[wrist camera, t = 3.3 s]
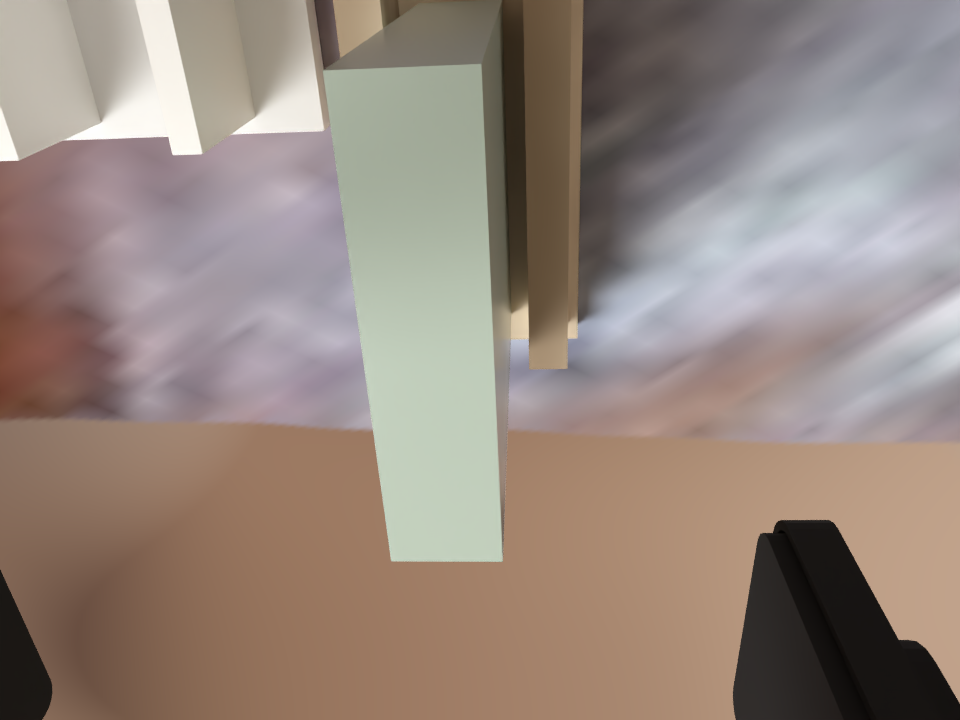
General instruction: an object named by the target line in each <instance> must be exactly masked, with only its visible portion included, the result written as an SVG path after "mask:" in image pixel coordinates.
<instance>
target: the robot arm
mask: <svg viewBox="0 0 960 720" xmlns="http://www.w3.org/2000/svg"><path fill="white" fill-rule="evenodd" d="M51 698H52V683H51V680H50V678H49V675H48V673H47V671H46V669H45V667H44V664H43V662H42V660H41V658H40V656H39V653H38V651H37V649H36V647H35V645H34V643H33V640H32V638H31V636H30V634H29V632H28V629H27V627H26V625H25V623H24V621H23V618H22V616H21V614H20V612H19V610H18V608H17V605H16V603H15V601H14V599H13V597H12V594H11V592H10V590H9V588H8V586H7V583H6V581H5V579H4V577H3V575H2V573H1V570H0V720H42V719H43V717H44V716H45V714H46V712H47V710H48V708H49V705H50V702H51ZM733 704H734V712H735V718H736V720H960V704H959V702H958V700H957V698H956V696H955V695H954V693H953V692H952V690H951V688H950V686H949V685H948V683H947V681H946V679H945V678H944V676H943V674H942V673H941V671H940V669H939V667H938V666H937V664H936V662H935V661H934V659H933V658H932V656H931V655H930V654H929V652H928V651H927V650H926V649H925V648H924V647H923V646H922V645H920V644H919V643H918V642H917V641H910V640H898V638H897V636H896V634H895V632H894V631H893V629H892V627H891V625H890V623H889V621H888V620H887V618H886V616H885V614H884V612H883V610H882V609H881V607H880V605H879V603H878V601H877V600H876V598H875V596H874V594H873V592H872V590H871V588H870V587H869V585H868V583H867V581H866V579H865V577H864V576H863V574H862V572H861V570H860V568H859V567H858V565H857V563H856V561H855V559H854V557H853V555H852V554H851V552H850V550H849V548H848V546H847V545H846V543H845V541H844V539H843V537H842V535H841V533H840V532H839V530H838V528H837V527H836V525H835V524H834V523H833V522H831V521H829V520H781V521H778V522H777V523H776V525H775V527H774V531H773V533H762V534H760V536H759V539H758V542H757V548H756V554H755V560H754V566H753V572H752V578H751V584H750V590H749V596H748V603H747V608H746V614H745V621H744V627H743V633H742V639H741V645H740V651H739V657H738V664H737V669H736V676H735V681H734V688H733Z"/></svg>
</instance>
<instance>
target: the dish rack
mask: <svg viewBox="0 0 960 720" xmlns="http://www.w3.org/2000/svg"><path fill="white" fill-rule="evenodd" d="M323 70H324V68H323V61H322V53H321V46H320V39H319V32H318V25H317V17H316V10H315V3H314V0H0V161H16V160H21V159H23V158H25V157H28V156H30V155H32V154H34V153H36V152H39V151H41V150H43V149H45V148H47V147H50V146H52V145H54V144H56V143H58V142H60V141H63V140H88V139H115V138H143V137H169V142H170V146H171V150H172V154H173V155H191V154H203V153H205V152H206V151H208V150H209V149H211V148H212V147H213V146H215V145H216V144H218V143H219V142H221V141H222V140H223V139H225V138H226V137H228V136H229V135H231V134H254V133H281V132H309V131H325V130H326V129H327V128H328V127H329V126H330V119H329V111H328V104H327V97H326V90H325V83H324V76H323Z"/></svg>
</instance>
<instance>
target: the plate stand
mask: <svg viewBox="0 0 960 720" xmlns="http://www.w3.org/2000/svg"><path fill="white" fill-rule="evenodd" d="M454 1H475V0H333V5H334V13H335V21H336V29H337V36H338V44H339V52H340V58H341V57H343V56H344V55H346V54H347V53H349V52H350V51H351V50H353V49H354V48H356V47H357V46H359V45H360V44H361V43H363V42H364V41H366V40H367V39H369V38H370V37H371V36H373V35H374V34H376V33H377V32H379V31H380V30H381V29H383V28H384V27H386V26H387V25H389V24H390V23H391V22H393V21H394V20H396V19H397V18H399V17H400V16H401V15H403V14H404V13H406V12H407V11H409V10H410V9H411V8H413V7H414V6H416V5H417V4H419V3H433V2H454ZM502 1H503V36H504V70H505V104H506V139H507V173H508V207H509V242H510V276H511V310H512V317H511V339H529V369H567V347H568V338H577V325H578V270H579V214H580V159H581V104H582V49H583V0H502Z"/></svg>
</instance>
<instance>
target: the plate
mask: <svg viewBox="0 0 960 720" xmlns="http://www.w3.org/2000/svg"><path fill="white" fill-rule="evenodd" d="M323 76H324V83H325V90H326V97H327V104H328V111H329V119H330V126H331V133H332V140H333V147H334V154H335V162H336V169H337V176H338V183H339V190H340V197H341V204H342V212H343V219H344V226H345V233H346V240H347V247H348V255H349V262H350V269H351V276H352V283H353V290H354V297H355V305H356V312H357V319H358V326H359V333H360V340H361V348H362V355H363V362H364V369H365V376H366V383H367V390H368V398H369V405H370V412H371V419H372V426H373V433H374V440H375V447H376V455H377V462H378V469H379V476H380V483H381V490H382V498H383V505H384V511H385V519H386V526H387V534H388V541H389V547H390V555H391V561H487V562H489V561H490V562H491V561H492V562H493V561H494V562H496V561H498V562H502V561H503V541H504V512H505V484H506V457H507V456H506V455H507V429H508V401H509V373H510V345H511V317H512V310H511V276H510V242H509V207H508V173H507V139H506V104H505V70H504V36H503V1H502V0H475V1H454V2H433V3H419V4H417V5H416V6H414V7H413V8H411V9H410V10H409V11H407V12H406V13H404V14H403V15H401V16H400V17H399V18H397V19H396V20H394V21H393V22H391V23H390V24H389V25H387V26H386V27H384V28H383V29H381V30H380V31H379V32H377V33H376V34H374V35H373V36H371V37H370V38H369V39H367V40H366V41H364V42H363V43H361V44H360V45H359V46H357V47H356V48H354V49H353V50H351V51H350V52H349V53H347V54H346V55H344V56H343V57H341V58H340V59H339V60H337V61H336V62H334V63H333V64H331V65H330V66H329V67H327V68H326V69H324V70H323Z"/></svg>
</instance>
